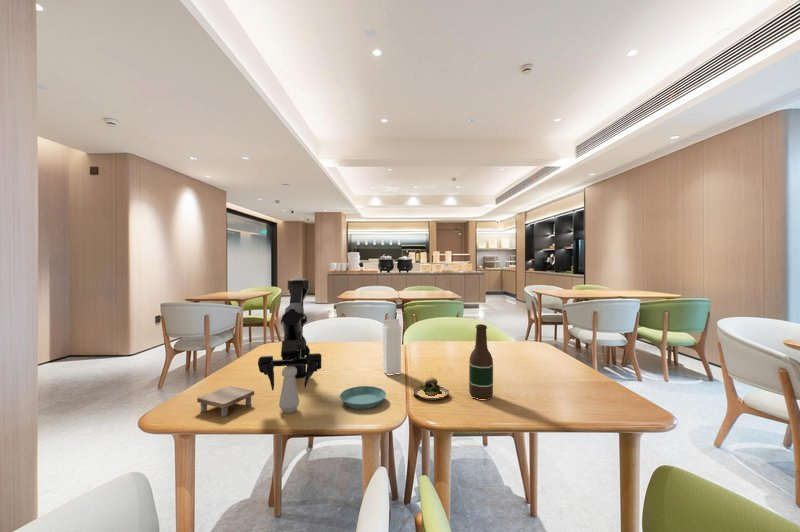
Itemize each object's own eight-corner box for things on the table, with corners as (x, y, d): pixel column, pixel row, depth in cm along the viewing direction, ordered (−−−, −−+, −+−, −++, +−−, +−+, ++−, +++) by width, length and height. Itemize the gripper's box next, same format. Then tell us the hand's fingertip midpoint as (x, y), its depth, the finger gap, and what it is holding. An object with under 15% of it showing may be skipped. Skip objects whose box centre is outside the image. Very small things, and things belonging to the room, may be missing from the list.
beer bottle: (493, 393, 115) (494, 323, 115) (492, 402, 107) (492, 327, 107) (470, 390, 117) (471, 322, 117) (467, 399, 110) (468, 326, 110)
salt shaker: (292, 415, 97) (293, 371, 97) (275, 414, 98) (275, 369, 98) (302, 407, 102) (302, 365, 102) (285, 405, 104) (285, 364, 104)
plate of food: (408, 400, 109) (408, 377, 109) (419, 387, 120) (419, 367, 120) (444, 406, 105) (444, 382, 105) (452, 392, 116) (452, 371, 116)
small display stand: (229, 398, 109) (229, 385, 109) (254, 403, 105) (254, 391, 105) (197, 411, 99) (197, 398, 99) (223, 418, 95) (223, 404, 95)
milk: (400, 375, 134) (401, 320, 134) (386, 376, 132) (386, 320, 132) (396, 370, 140) (397, 317, 139) (382, 371, 138) (383, 318, 138)
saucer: (335, 397, 111) (335, 389, 111) (377, 391, 117) (377, 383, 117) (346, 415, 98) (346, 406, 98) (392, 407, 103) (392, 399, 103)
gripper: (259, 330, 102) (251, 377, 92) (321, 328, 107) (321, 373, 96) (263, 349, 110) (256, 395, 99) (321, 346, 114) (321, 390, 103)
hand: (289, 388), depth 99 cm, fingers open, 9 cm apart
